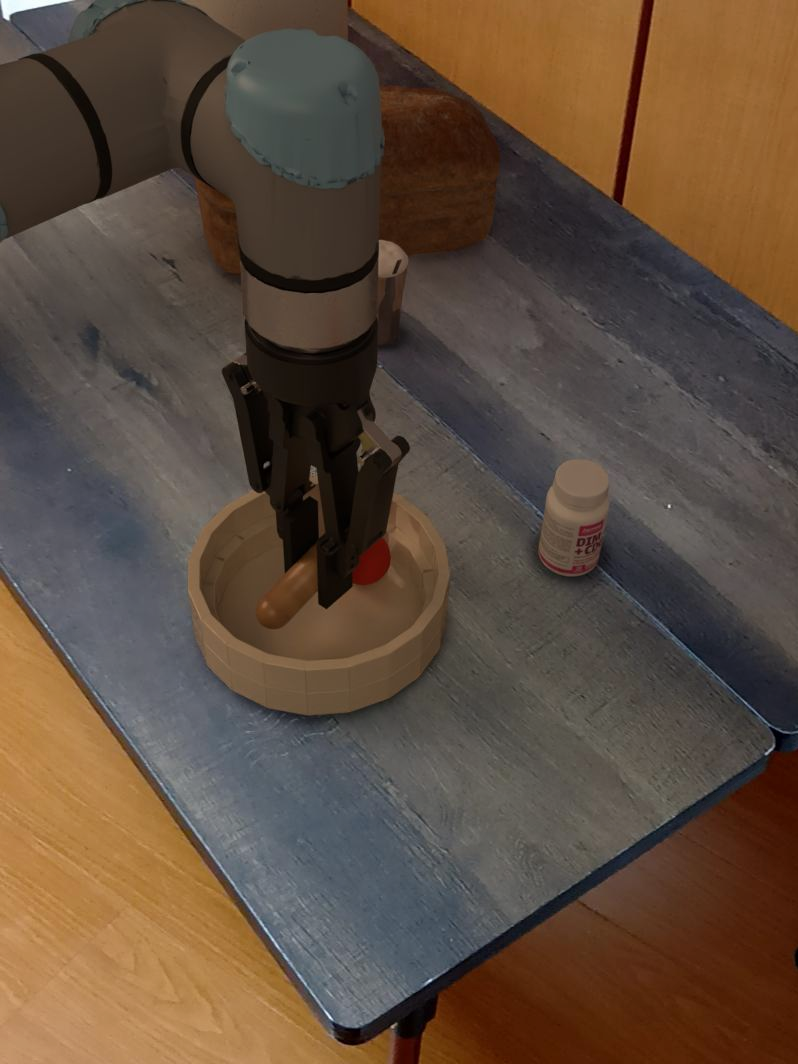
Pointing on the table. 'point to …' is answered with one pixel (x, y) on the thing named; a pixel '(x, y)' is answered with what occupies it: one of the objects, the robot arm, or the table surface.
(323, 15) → the vase
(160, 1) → the robot arm
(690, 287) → the table surface
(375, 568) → the red ball
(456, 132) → the bread
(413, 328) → the table surface
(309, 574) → the sausage
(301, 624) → the bowl
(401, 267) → the milkshake
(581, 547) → the pill bottle
